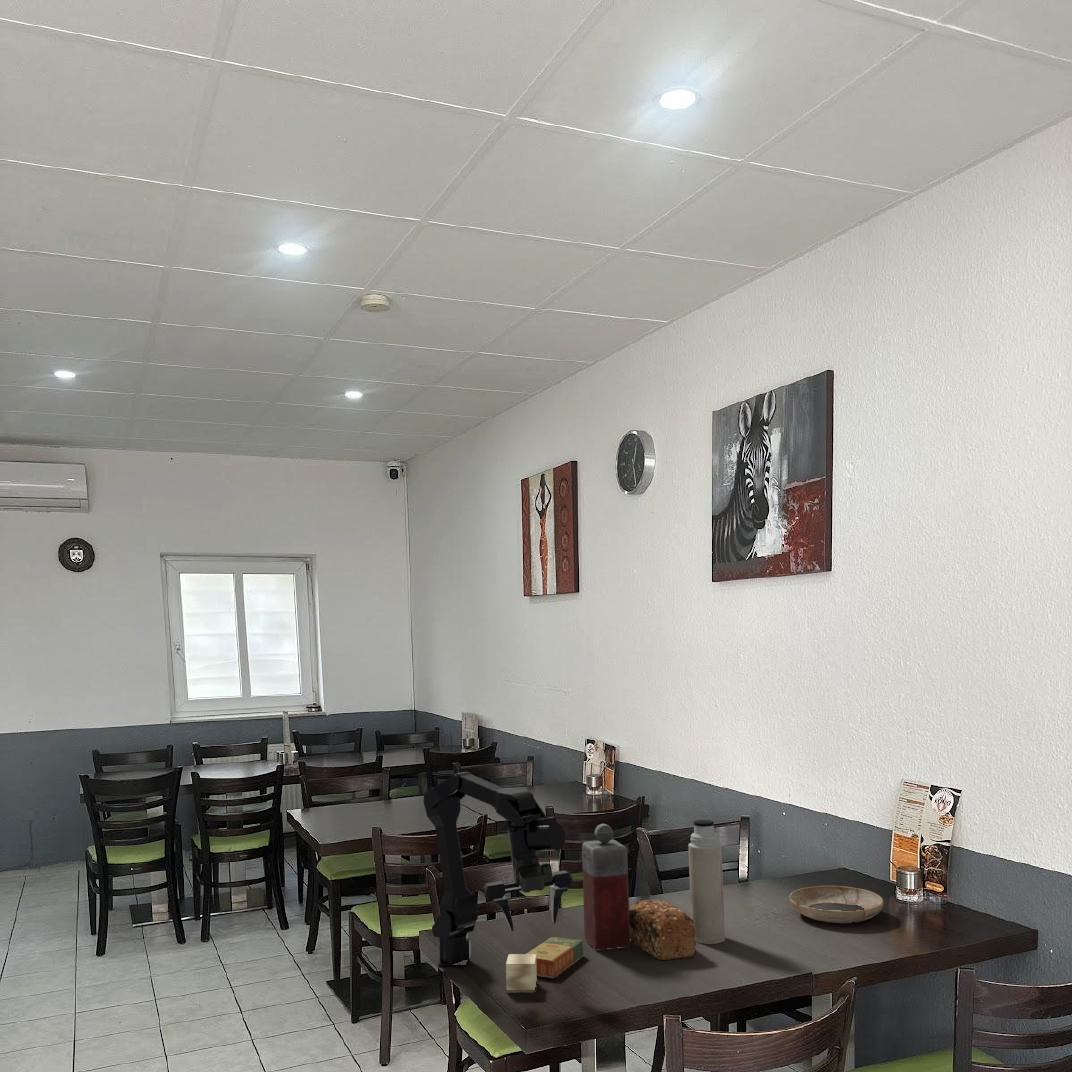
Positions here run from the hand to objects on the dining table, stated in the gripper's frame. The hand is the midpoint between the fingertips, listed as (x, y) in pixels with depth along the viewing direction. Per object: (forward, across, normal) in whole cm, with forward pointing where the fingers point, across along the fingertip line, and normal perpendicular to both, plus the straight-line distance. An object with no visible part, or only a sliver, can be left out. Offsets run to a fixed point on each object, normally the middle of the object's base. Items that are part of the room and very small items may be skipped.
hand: (533, 927), depth 202 cm
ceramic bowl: (+17, +84, +31) cm, 91 cm away
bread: (+14, +33, +20) cm, 41 cm away
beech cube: (+12, -4, +2) cm, 13 cm away
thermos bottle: (+14, +46, +22) cm, 53 cm away
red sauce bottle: (+11, +21, +27) cm, 36 cm away
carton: (+12, +6, +14) cm, 19 cm away
